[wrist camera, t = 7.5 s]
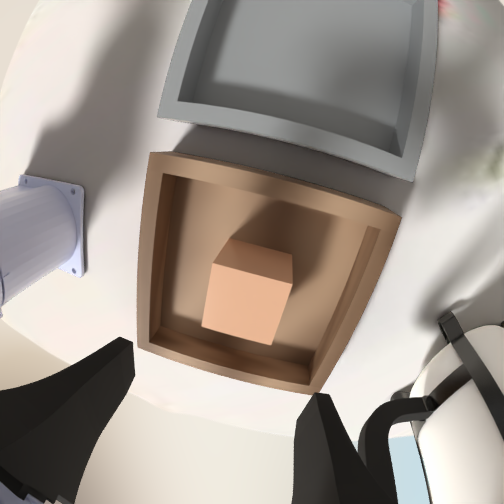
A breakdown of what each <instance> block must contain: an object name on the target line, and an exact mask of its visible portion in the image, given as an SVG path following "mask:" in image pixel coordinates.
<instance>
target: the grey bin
mask: <svg viewBox="0 0 504 504" xmlns="http://www.w3.org/2000/svg"><path fill="white" fill-rule="evenodd" d="M437 36H438V0H192V2H191V4H190V7H189V9H188V12H187V15H186V17H185V20H184V23H183V26H182V29H181V31H180V34H179V37H178V40H177V44H176V47H175V50H174V53H173V56H172V60H171V63H170V67H169V70H168V74H167V77H166V81H165V85H164V89H163V93H162V97H161V101H160V105H159V110H158V114H157V117H158V118H163V119H168V120H172V121H177V122H184V123H191V124H198V125H204V126H211V127H216V128H222V129H228V130H233V131H238V132H243V133H248V134H253V135H257V136H262V137H266V138H270V139H275V140H279V141H283V142H287V143H291V144H294V145H298V146H302V147H305V148H309V149H313V150H316V151H319V152H323V153H326V154H329V155H333V156H336V157H339V158H342V159H345V160H348V161H351V162H354V163H357V164H360V165H363V166H366V167H368V168H371V169H374V170H377V171H379V172H382V173H385V174H387V175H390V176H392V177H396V178H399V179H403V180H406V181H409V182H413V180H414V176H415V173H416V169H417V165H418V161H419V157H420V153H421V149H422V145H423V140H424V136H425V131H426V126H427V121H428V115H429V110H430V104H431V97H432V91H433V83H434V75H435V65H436V53H437Z"/></svg>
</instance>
